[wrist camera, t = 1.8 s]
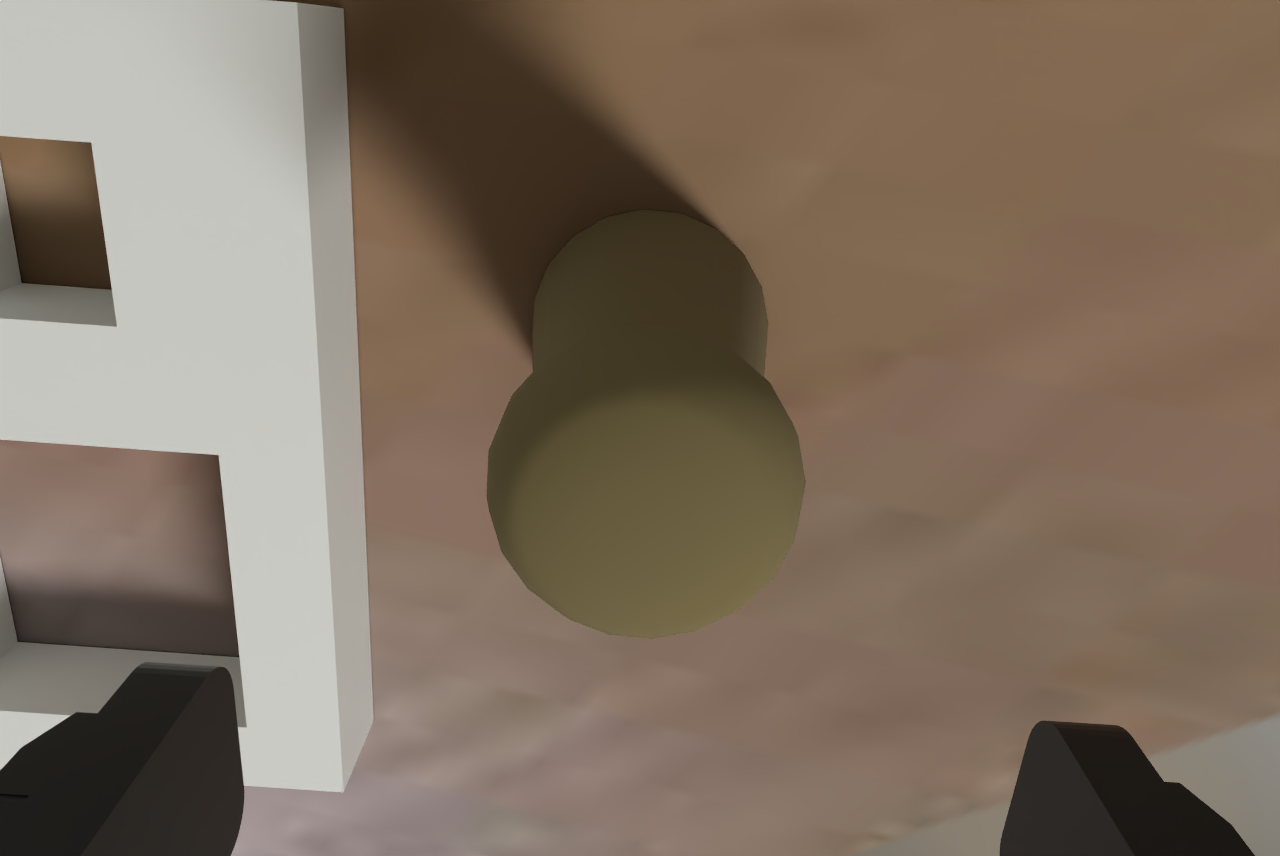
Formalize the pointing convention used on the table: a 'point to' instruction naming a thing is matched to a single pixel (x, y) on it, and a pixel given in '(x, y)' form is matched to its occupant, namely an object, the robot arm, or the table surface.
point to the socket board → (205, 341)
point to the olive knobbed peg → (646, 434)
